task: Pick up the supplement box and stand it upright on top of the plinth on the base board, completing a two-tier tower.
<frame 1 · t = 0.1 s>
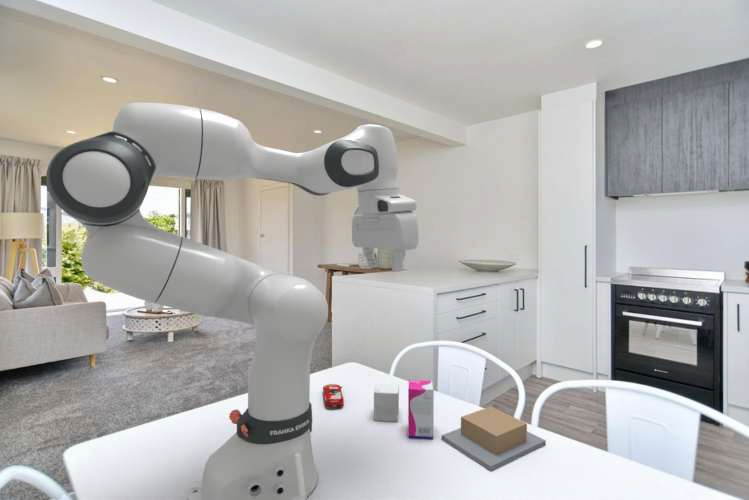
hand: (384, 269, 84), 39 cm above the table, tool pointing down, fingers open, 8 cm apart
build base: (492, 442, 88), on the table
race car: (333, 401, 109), on the table
product box: (386, 416, 100), on the table
supplement box: (420, 433, 92), on the table
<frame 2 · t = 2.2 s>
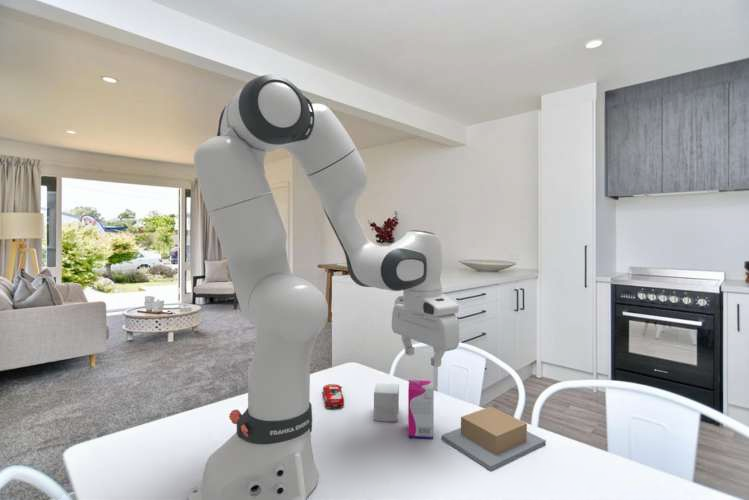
hand: (422, 360, 91), 17 cm above the table, tool pointing down, fingers open, 8 cm apart
nothing on the table moved.
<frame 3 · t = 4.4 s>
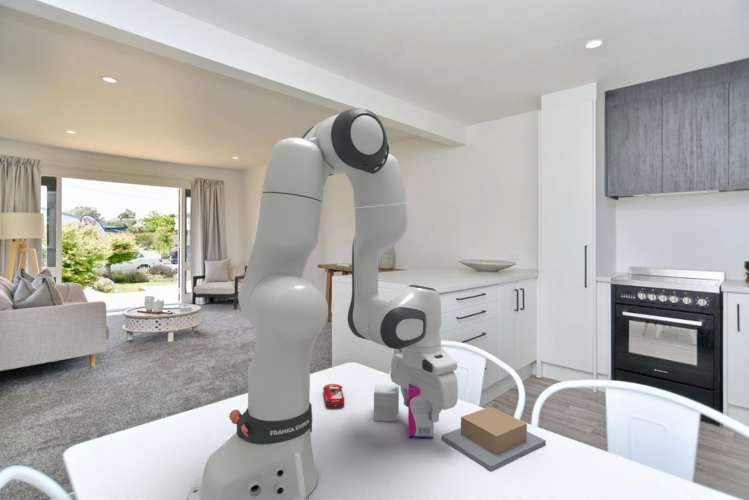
hand: (420, 413, 91), 5 cm above the table, tool pointing down, fingers closed on supplement box, 8 cm apart
supplement box: (420, 433, 92), on the table, touching gripper
everything else where it was.
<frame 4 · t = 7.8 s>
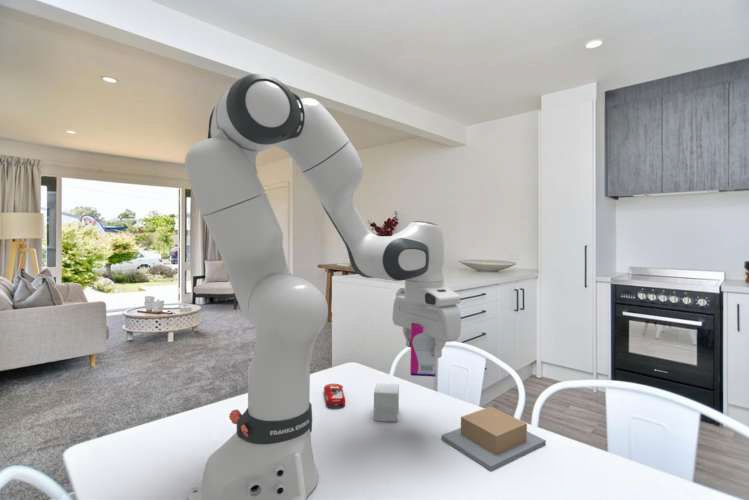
hand: (423, 351, 91), 19 cm above the table, tool pointing down, fingers closed on supplement box, 8 cm apart
supplement box: (422, 372, 91), point 14 cm above the table, touching gripper
everything else where it was.
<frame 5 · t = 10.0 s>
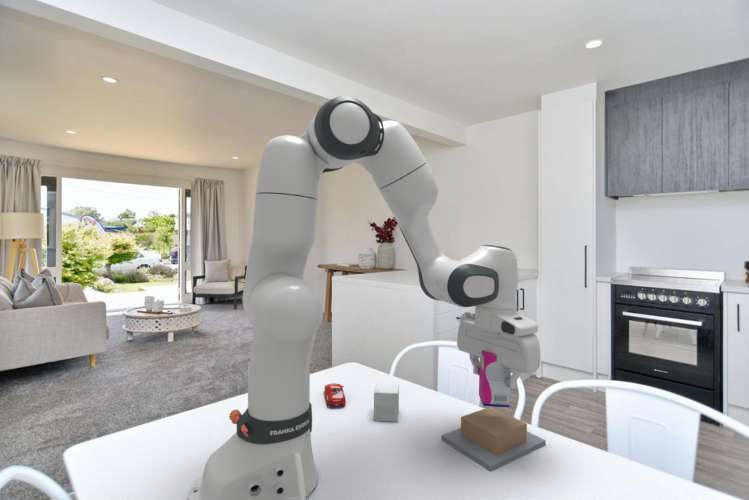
hand: (494, 380, 87), 14 cm above the table, tool pointing down, fingers closed on supplement box, 8 cm apart
supplement box: (493, 401, 87), point 9 cm above the table, touching gripper
everything else where it was.
when the fingers open (11 cm above the table, at t = 11.6 s): supplement box drops 1 cm, resting on build base.
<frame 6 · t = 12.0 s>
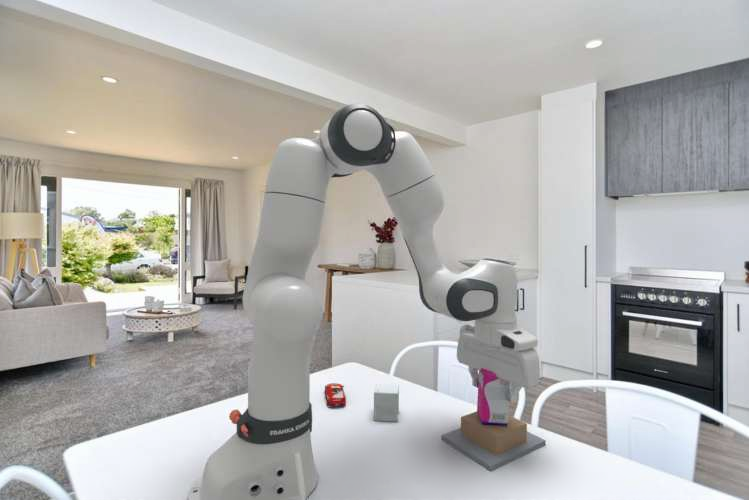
hand: (493, 393, 87), 11 cm above the table, tool pointing down, fingers open, 8 cm apart
supplement box: (491, 419, 88), point 5 cm above the table, touching build base, gripper
everything else where it was.
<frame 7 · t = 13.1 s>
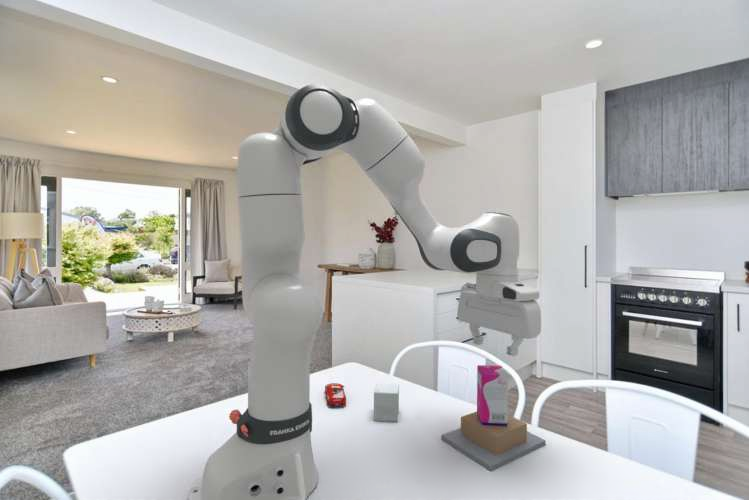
hand: (494, 349, 87), 21 cm above the table, tool pointing down, fingers open, 8 cm apart
supplement box: (491, 420, 88), point 5 cm above the table, touching build base
everything else where it was.
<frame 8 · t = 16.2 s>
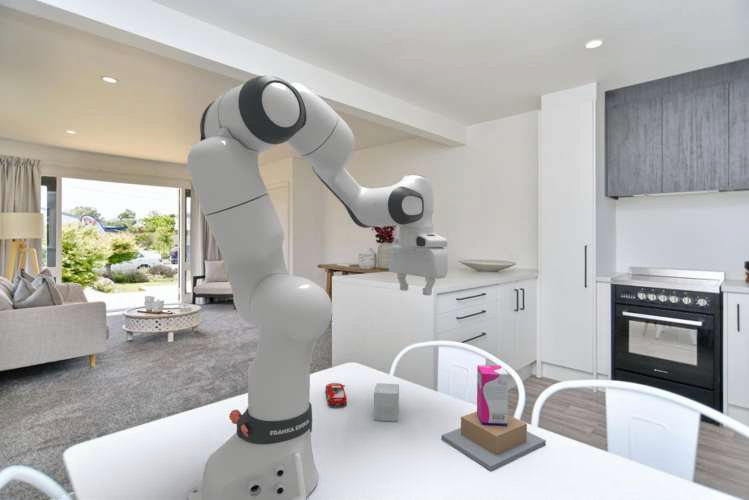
hand: (415, 292, 102), 31 cm above the table, tool pointing down, fingers open, 8 cm apart
at the end: supplement box 0.5 cm off-centre on the build base, point 4.8 cm above the build base's base; supplement box tilted 0°; the gripper is holding nothing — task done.
